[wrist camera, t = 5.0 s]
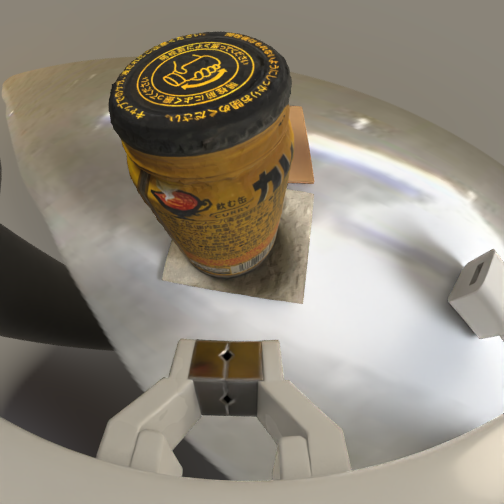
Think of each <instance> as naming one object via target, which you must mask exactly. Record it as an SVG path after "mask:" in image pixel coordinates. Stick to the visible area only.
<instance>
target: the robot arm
mask: <svg viewBox="0 0 504 504" xmlns="http://www.w3.org/2000/svg"><path fill="white" fill-rule="evenodd" d="M201 415H214V416H253V417H257V418H258V420H259V421H260V422H261V424H262V425H263V426H264V428H265V429H266V431H267V432H268V433H269V435H270V436H271V437H272V438H273V440H274V441H275V442H276V444H277V451H276V456H275V461H274V466H273V470H272V480H269V481H226V480H209V479H198V478H188V477H182V472H183V468H182V467H181V465H180V463H179V462H178V460H177V459H176V457H175V455H174V453H173V452H172V450H173V449H174V448H175V447H176V446H177V445H178V443H179V442H180V441H181V440H182V439H183V438H184V437H185V435H186V434H187V433H188V432H189V431H190V430H191V429H192V427H193V426H194V425H195V424H196V423H197V421H198V420H199V419H200V418H201V417H202V416H201ZM0 504H504V413H503V414H501V415H499V416H498V417H496V418H494V419H492V420H491V421H489V422H487V423H485V424H483V425H481V426H479V427H477V428H475V429H473V430H471V431H469V432H467V433H465V434H463V435H461V436H459V437H456V438H454V439H452V440H450V441H447V442H445V443H442V444H440V445H437V446H435V447H432V448H430V449H427V450H424V451H422V452H419V453H416V454H413V455H410V456H407V457H404V458H400V459H397V460H394V461H390V462H386V463H383V464H379V465H375V466H371V467H367V468H362V469H358V470H353V471H352V469H351V465H350V460H349V456H348V451H347V447H346V443H345V439H344V434H343V430H342V429H341V428H340V427H339V426H338V425H337V424H335V423H334V422H333V421H332V420H331V419H330V418H329V417H328V416H327V415H325V414H324V413H323V412H322V411H321V410H320V409H319V408H318V407H317V406H316V405H315V404H314V403H312V402H311V401H310V400H309V399H308V398H307V397H306V396H305V395H304V394H303V393H302V392H301V391H300V390H299V389H298V388H297V387H296V386H295V385H294V384H292V383H291V382H290V381H289V380H284V375H283V367H282V359H281V351H280V343H279V341H278V340H262V342H261V341H217V340H199V339H197V340H193V339H180V340H179V341H178V344H177V348H176V351H175V355H174V358H173V362H172V366H171V369H170V373H169V377H168V378H166V377H163V378H162V379H161V380H160V381H158V382H157V383H156V384H155V385H153V386H152V387H151V388H150V389H148V390H147V391H146V392H145V393H143V394H142V395H141V396H140V397H138V398H137V399H136V400H134V401H133V402H132V403H131V404H129V405H128V406H127V407H125V408H124V409H123V410H122V411H120V412H119V413H118V414H116V415H115V416H114V417H112V418H111V419H110V420H109V421H108V423H107V426H106V429H105V432H104V435H103V438H102V440H101V443H100V446H99V449H98V452H97V455H96V458H93V457H90V456H87V455H84V454H81V453H78V452H75V451H73V450H70V449H67V448H65V447H62V446H60V445H57V444H55V443H52V442H50V441H47V440H45V439H43V438H41V437H38V436H36V435H34V434H32V433H30V432H28V431H26V430H24V429H22V428H20V427H18V426H16V425H14V424H12V423H10V422H9V421H7V420H5V419H3V418H1V417H0Z"/></svg>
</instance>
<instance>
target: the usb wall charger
mask: <svg viewBox="0 0 504 504" xmlns="http://www.w3.org/2000/svg"><path fill="white" fill-rule="evenodd" d="M448 302H449V303H450V304H451V305H452V306H453V308H454V309H455V310H456V311H457V312H458V313H459V315H460V316H461V317H462V318H463V319H464V321H465V322H466V323H467V324H468V325H469V327H470V328H471V329H472V330H473V332H474V333H475V334H476V335H477V337H478V338H479V339H483V338H489V337H494V336H500V337H501V339H502V340H503V341H504V262H503V260H502V259H501V258H500V256H499V255H498V254H497V252H496V251H495V250H494V249H492V250H490V251H488V252H486V253H485V254H483V255H481V256H479V257H478V258H476V259H474V260H472V261H470V262H469V263H467V264H466V265H465V267H464V268H463V269H462V271H461V273H460V275H459V277H458V279H457V281H456V283H455V285H454V287H453V289H452V291H451V293H450V295H449V297H448Z"/></svg>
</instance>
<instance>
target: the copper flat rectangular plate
mask: <svg viewBox="0 0 504 504" xmlns="http://www.w3.org/2000/svg"><path fill="white" fill-rule="evenodd" d="M289 107H290V114H289V119H290V122H291V127H292V130H293V133H294V158H293V161H292V164H291V169H290V173H289V179H288V183H308V184H314V175H313V169H312V162H311V156H310V149H309V143H308V138H307V132H306V126H305V121H304V115H303V110H302V107H299V106H289Z"/></svg>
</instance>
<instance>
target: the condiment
mask: <svg viewBox="0 0 504 504" xmlns="http://www.w3.org/2000/svg"><path fill="white" fill-rule="evenodd" d="M291 85H292V80H291V76H290V70H289V67H288V65H287V63H286V60H285V59H284V57H282V56H281V55H280V54H279V53H278V52H277V51H276V50H275V49H273V48H272V47H271V46H269V45H267V44H265V43H263V42H262V41H260V40H257V39H256V38H252V37H249V36H245V35H241V34H236V33H230V32H205V33H198V34H190V35H186V36H181V37H178V38H175V39H171V40H170V41H167V42H163V43H161V44H159V45H158V46H154V47H153V48H151V49H149V50H147V51H146V52H145V53H143V54H142V55H140V56H139V57H137V58H136V59H135V60H133V61H132V62H131V63H130V64H129V65H127V67H126V68H125V69H124V71H123V72H122V73H121V74H120V75H119V77H118V79H117V80H116V82H115V83H114V84H112V89H111V92H110V98H109V112H110V119H111V124H112V125H113V129H114V130H115V131H116V133H117V134H118V135H119V137H120V138H121V141H122V145H123V147H124V149H125V152H126V153H127V164H128V169H129V174H130V177H131V179H132V181H133V183H134V185H135V186H136V188H137V191H138V193H139V194H140V196H141V197H142V199H143V200H144V202H145V203H146V204H147V205H148V206H149V207H150V208H151V210H152V212H153V213H154V215H155V216H156V218H157V220H158V222H159V223H161V224H162V225H163V227H164V229H165V230H166V231H167V233H168V234H169V235H170V237H171V238H172V241H171V245H170V248H169V252H168V255H167V259H166V263H165V267H164V271H163V276H162V280H163V281H169V282H173V283H178V284H183V285H188V286H194V287H199V288H204V289H210V290H216V291H221V292H228V293H234V294H241V295H248V296H252V297H259V298H265V299H271V300H279V301H287V302H293V303H300V304H303V298H304V288H305V280H306V271H307V262H308V251H309V242H310V232H311V222H312V209H313V198H314V194H311V193H306V192H301V191H293V190H288V189H286V188H287V183H288V179H289V173H290V169H291V164H292V161H293V158H294V133H293V130H292V127H291V122H290V119H289V114H290V107H289V97H290V94H291Z"/></svg>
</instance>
